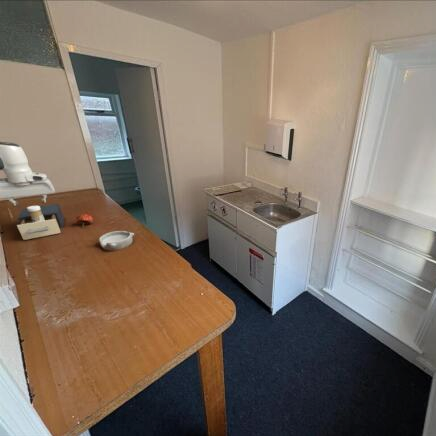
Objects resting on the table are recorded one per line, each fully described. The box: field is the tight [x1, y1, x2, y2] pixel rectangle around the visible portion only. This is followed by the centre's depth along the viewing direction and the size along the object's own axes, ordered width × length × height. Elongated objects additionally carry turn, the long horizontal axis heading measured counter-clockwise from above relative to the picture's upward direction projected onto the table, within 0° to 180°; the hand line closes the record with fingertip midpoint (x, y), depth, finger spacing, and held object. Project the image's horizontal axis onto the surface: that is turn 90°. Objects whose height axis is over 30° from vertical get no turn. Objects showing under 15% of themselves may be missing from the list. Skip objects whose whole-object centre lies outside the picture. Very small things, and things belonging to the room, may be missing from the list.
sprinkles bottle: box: [26, 205, 45, 222], centre depth 121 cm, size 5×5×14 cm
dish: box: [98, 230, 135, 252], centre depth 117 cm, size 14×14×5 cm
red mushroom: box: [75, 212, 94, 228], centre depth 134 cm, size 7×7×10 cm
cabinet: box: [17, 203, 65, 229], centre depth 131 cm, size 16×15×10 cm
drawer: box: [16, 214, 61, 241], centre depth 122 cm, size 19×14×8 cm
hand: (31, 204), depth 118 cm, fingers open, 8 cm apart
